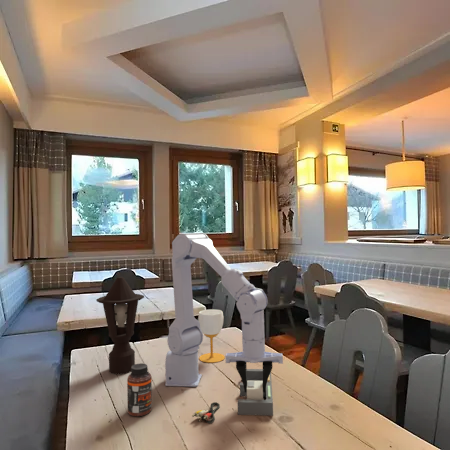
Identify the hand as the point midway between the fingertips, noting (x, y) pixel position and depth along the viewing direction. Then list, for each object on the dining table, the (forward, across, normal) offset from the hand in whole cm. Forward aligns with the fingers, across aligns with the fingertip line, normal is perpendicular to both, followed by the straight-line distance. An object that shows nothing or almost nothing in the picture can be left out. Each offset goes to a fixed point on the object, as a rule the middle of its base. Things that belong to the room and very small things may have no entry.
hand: (255, 390), depth 92 cm
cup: (+3, -16, +32) cm, 36 cm away
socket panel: (+3, 0, +5) cm, 6 cm away
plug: (+3, 0, 0) cm, 4 cm away
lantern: (+3, -44, +21) cm, 49 cm away
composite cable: (+4, -11, -6) cm, 13 cm away
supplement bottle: (+3, -29, -5) cm, 29 cm away
